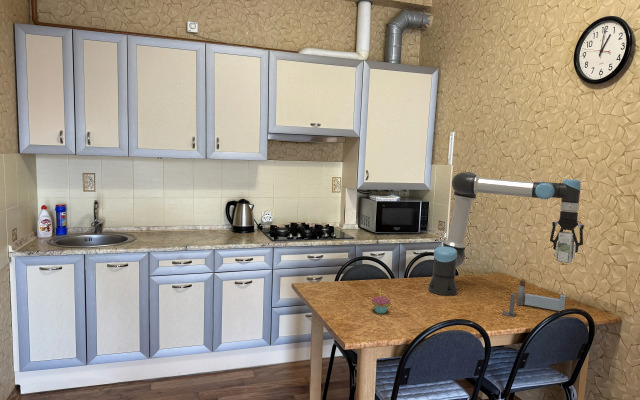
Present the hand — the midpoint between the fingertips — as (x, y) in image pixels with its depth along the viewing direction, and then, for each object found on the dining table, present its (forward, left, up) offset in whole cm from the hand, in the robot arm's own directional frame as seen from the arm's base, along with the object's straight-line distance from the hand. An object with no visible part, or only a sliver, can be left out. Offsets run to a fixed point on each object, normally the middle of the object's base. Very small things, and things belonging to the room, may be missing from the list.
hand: (564, 257), depth 210 cm
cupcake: (-73, -57, -26) cm, 97 cm away
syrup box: (0, 0, -2) cm, 2 cm away
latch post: (-22, -26, -26) cm, 42 cm away
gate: (-9, -7, -25) cm, 28 cm away
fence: (-17, +1, -26) cm, 31 cm away
